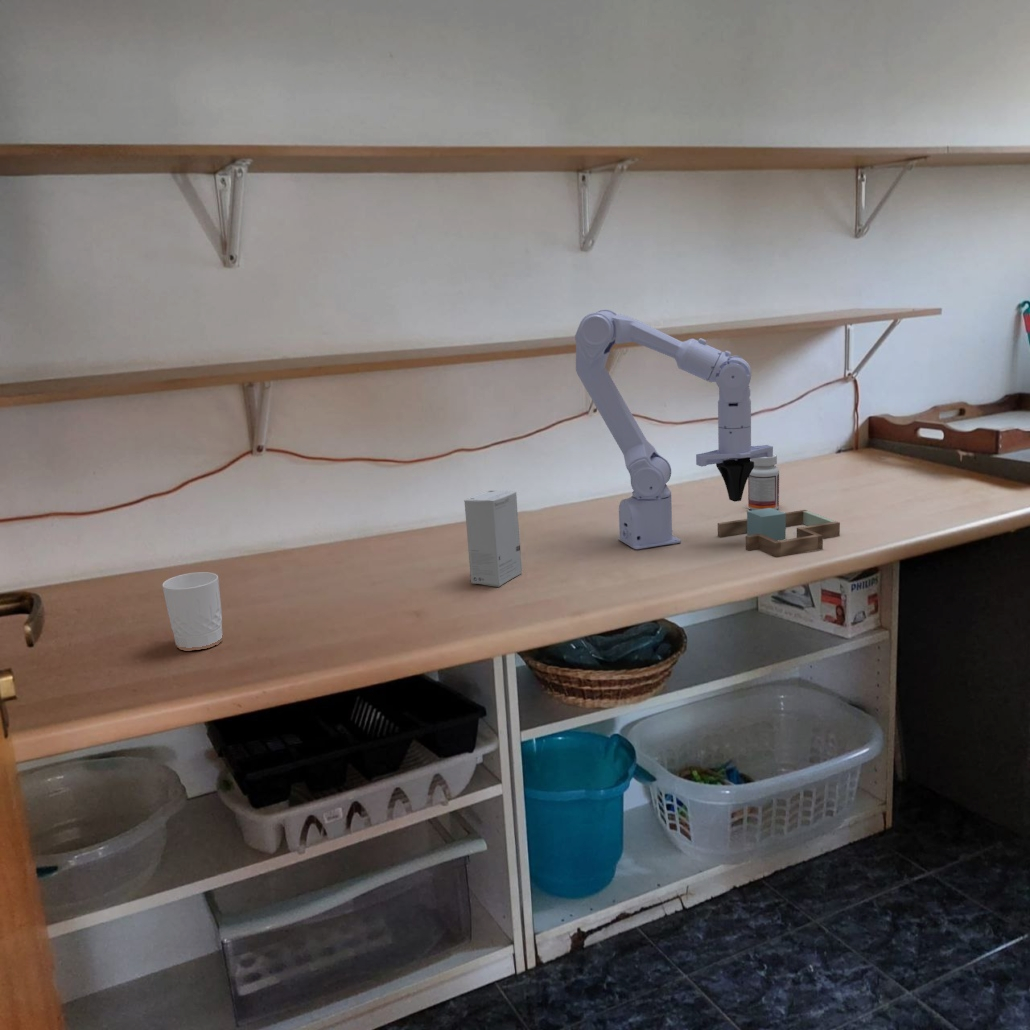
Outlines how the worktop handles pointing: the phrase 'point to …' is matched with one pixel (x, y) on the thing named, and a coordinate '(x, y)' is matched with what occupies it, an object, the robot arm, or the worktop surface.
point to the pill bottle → (764, 484)
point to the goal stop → (814, 519)
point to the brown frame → (805, 541)
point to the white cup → (194, 608)
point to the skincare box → (493, 537)
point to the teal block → (767, 523)
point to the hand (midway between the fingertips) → (735, 500)
